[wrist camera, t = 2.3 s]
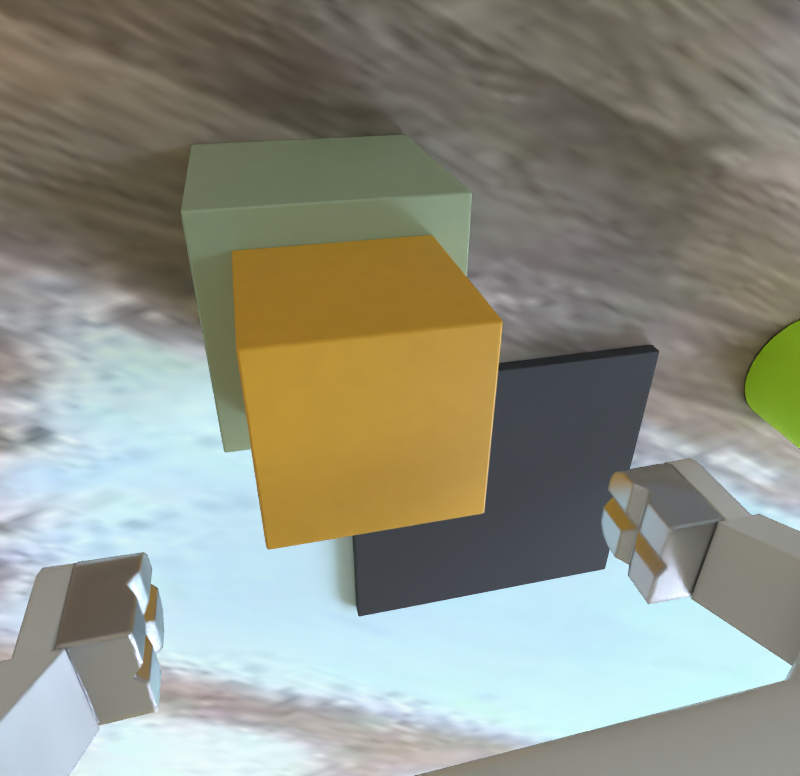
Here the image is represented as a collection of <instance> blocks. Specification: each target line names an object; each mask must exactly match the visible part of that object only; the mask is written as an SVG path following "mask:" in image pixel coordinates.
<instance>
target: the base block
mask: <svg viewBox="0 0 800 776" xmlns="http://www.w3.org/2000/svg"><path fill="white" fill-rule="evenodd" d="M471 201H472V192H471V191H470V190H469V189H467V188H466V187H465V186H464V185H463V184H462V183H461V182H459V181H458V180H457V179H456V178H455V177H454V176H452V175H451V174H450V173H449V172H448V171H447V170H446V169H444V168H443V167H442V166H441V165H440V164H439V163H437V162H436V161H435V160H434V159H433V158H432V157H431V156H429V155H428V154H427V153H426V152H425V151H424V150H422V149H421V148H420V147H419V146H418V145H417V144H416V143H414V142H413V141H412V140H411V139H410V138H409V137H407V136H406V135H385V136H364V137H343V138H322V139H301V140H280V141H259V142H238V143H216V144H195V145H191V149H190V156H189V162H188V169H187V175H186V181H185V188H184V194H183V201H182V207H181V219H182V224H183V230H184V235H185V240H186V246H187V251H188V257H189V262H190V268H191V273H192V279H193V284H194V290H195V295H196V301H197V306H198V311H199V317H200V322H201V328H202V333H203V339H204V344H205V350H206V355H207V361H208V366H209V372H210V377H211V382H212V388H213V393H214V399H215V404H216V410H217V415H218V421H219V426H220V432H221V437H222V443H223V448H224V451H225V452H234V451H241V450H248V449H251V445H250V438H249V432H248V425H247V419H246V413H245V406H244V400H243V393H242V387H241V380H240V374H239V367H238V361H237V354H236V339H235V318H234V297H233V276H232V254H231V253H232V251H234V250H247V249H260V248H272V247H285V246H297V245H310V244H323V243H335V242H348V241H361V240H373V239H386V238H399V237H411V236H424V235H433V236H434V237H435V239H436V240H437V241H438V242H439V244H440V245H441V246H442V247H443V248H444V250H445V251H446V252H447V253H448V255H449V256H450V257H451V258H452V259H453V261H454V262H455V263H456V264H457V266H458V267H459V268H460V269H461V271H462V272H463V273H464V274H465V275H466V277H467V265H468V249H469V233H470V217H471Z"/></svg>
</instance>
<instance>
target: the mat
mask: <svg viewBox="0 0 800 776" xmlns="http://www.w3.org/2000/svg"><path fill="white" fill-rule="evenodd" d="M658 354H659V350H657V349H656V348H655V347H654V346H653V345H649V346H640V347H632V348H624V349H616V350H608V351H599V352H591V353H583V354H575V355H567V356H558V357H550V358H542V359H534V360H526V361H517V362H509V363H501V364H499V367H498V377H497V387H496V397H495V408H494V418H493V428H492V438H491V448H490V459H489V469H488V479H487V489H486V499H485V510H484V513H482V514H477V515H471V516H465V517H459V518H453V519H447V520H441V521H435V522H429V523H423V524H418V525H412V526H406V527H400V528H394V529H388V530H382V531H376V532H370V533H364V534H358V535H353V546H354V565H355V585H356V604H357V612H358V616H364V615H369V614H374V613H380V612H385V611H390V610H395V609H400V608H405V607H410V606H416V605H421V604H426V603H431V602H436V601H441V600H447V599H452V598H457V597H462V596H467V595H472V594H478V593H483V592H488V591H493V590H498V589H503V588H508V587H514V586H519V585H524V584H529V583H534V582H539V581H545V580H550V579H555V578H560V577H565V576H570V575H576V574H581V573H586V572H591V571H596V570H601V569H605V566H606V562H607V558H608V554H609V550H610V549H609V547H608V545H607V543H606V541H605V538H604V536H603V530H602V524H601V519H602V513H603V507H604V506H605V505H606V504H607V503H608V502H609V501H610V500H611V498H612V497H613V496H612V494H611V493H610V491H609V490H608V486H609V481H610V478H611V477H612V475H613V474H614V473H615V472H617V471H623V470H628V469H630V466H631V462H632V458H633V454H634V450H635V446H636V442H637V438H638V434H639V430H640V426H641V422H642V418H643V414H644V410H645V406H646V402H647V398H648V394H649V390H650V386H651V382H652V378H653V374H654V370H655V366H656V362H657V358H658Z"/></svg>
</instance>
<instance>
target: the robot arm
mask: <svg viewBox="0 0 800 776" xmlns="http://www.w3.org/2000/svg"><path fill="white" fill-rule="evenodd" d="M608 490H609V491H610V493H611V494H612V496H613V497H612V498H611V500H610V501H609V502H608V503H607V504H606V505H605V506H604V507H603V513H602V519H601V524H602V530H603V536H604V538H605V541H606V543H607V545H608V547H609V549H610V550H611V552H612V553H613V555H614V556H615V557H616V558H618V559H620V560H622V561H623V562H625V563H627V564H629V571H628V576H629V578H630V579H631V580H632V582H633V583H634V585H635V586H636V588H637V589H638V590H639V592H640V593H641V595H642V596H643V597H644V599H645V600H646V602H647V603H648V604H652V603H657V602H663V601H668V600H673V599H679V598H684V597H689V596H692V597H691V599H693V600H694V601H696V602H697V603H699V604H700V605H702V606H703V607H705V608H706V609H708V610H709V611H711V612H712V613H714V614H715V615H717V616H718V617H720V618H721V619H723V620H724V621H726V622H727V623H729V624H730V625H732V626H733V627H735V628H736V629H738V630H739V631H741V632H742V633H744V634H745V635H747V636H748V637H750V638H751V639H753V640H754V641H756V642H757V643H759V644H760V645H762V646H763V647H765V648H766V649H768V650H769V651H771V652H772V653H774V654H775V655H777V656H778V657H780V658H781V659H783V660H784V661H786V662H787V663H789V664H790V665H792V668H791V670H790V672H789V673H788V675H787V677H786V679H785V680H784V681H781V682H777V683H773V684H769V685H765V686H761V687H757V688H753V689H749V690H746V691H742V692H738V693H734V694H730V695H726V696H722V697H718V698H714V699H711V700H707V701H703V702H699V703H695V704H691V705H687V706H683V707H679V708H676V709H672V710H668V711H664V712H660V713H656V714H652V715H648V716H644V717H641V718H637V719H633V720H629V721H625V722H621V723H617V724H613V725H610V726H606V727H602V728H598V729H594V730H590V731H586V732H582V733H578V734H575V735H571V736H567V737H563V738H559V739H555V740H551V741H547V742H543V743H540V744H536V745H532V746H528V747H524V748H520V749H516V750H512V751H509V752H505V753H501V754H497V755H493V756H489V757H485V758H481V759H477V760H474V761H470V762H466V763H462V764H458V765H454V766H450V767H446V768H442V769H439V770H435V771H431V772H427V773H423V774H419V775H415V776H800V531H798V530H795V529H793V528H791V527H788V526H786V525H784V524H781V523H779V522H777V521H774V520H772V519H770V518H767V517H765V516H763V515H760V514H756V515H751V514H750V513H749V512H748V511H747V510H746V509H745V508H744V507H743V506H742V505H741V504H740V503H739V502H738V501H737V500H736V499H735V498H734V497H733V496H732V495H731V494H730V493H729V492H728V491H727V490H726V489H724V488H723V487H722V486H721V485H720V484H719V483H718V482H717V481H716V480H715V479H714V478H713V477H712V476H711V475H710V474H709V473H708V472H707V471H706V470H705V469H704V468H703V467H702V466H701V465H700V464H699V463H698V462H697V461H695V460H692V459H690V458H688V459H683V460H677V461H672V462H666V463H664V464H656V465H651V466H645V467H639V468H634V469H628V470H623V471H617V472H615V473H614V474H613V475H612V477H611V478H610V481H609V486H608ZM151 575H152V567H151V564H150V561H149V558H148V555H147V554H146V553H144V552H142V553H136V554H129V555H122V556H115V557H108V558H101V559H95V560H88V561H81V562H77V563H73V564H66V565H59V566H52V567H44V568H42V569H41V571H40V572H39V573H38V575H37V576H36V578H35V581H34V585H33V588H32V591H31V595H30V598H29V602H28V605H27V608H26V612H25V615H24V618H23V622H22V625H21V628H20V632H19V635H18V638H17V642H16V645H15V649H14V652H13V655H12V659H9V660H4V661H0V776H69V775H70V773H71V772H72V770H73V769H74V767H75V766H76V764H77V763H78V761H79V760H80V758H81V756H82V755H83V753H84V752H85V750H86V749H87V747H88V746H89V744H90V743H91V741H92V740H93V738H94V737H95V735H96V733H97V732H98V730H99V727H98V726H99V725H103V724H107V723H111V722H115V721H119V720H123V719H127V718H132V717H136V716H140V715H144V714H148V713H152V712H156V711H158V706H159V694H160V681H161V670H160V666H159V663H158V660H157V657H156V655H157V654H158V653H159V652H160V650H161V649H162V648H163V639H164V622H163V609H162V603H161V598H160V594H159V591H158V588H157V587H155V586H153V585H152V584H151Z"/></svg>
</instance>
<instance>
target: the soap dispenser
mask: <svg viewBox="0 0 800 776" xmlns="http://www.w3.org/2000/svg"><path fill="white" fill-rule="evenodd" d="M745 397H746V400H747V403H748V405H749V406H750V408H751V409H752V410H753V411H754V412H755V413H757V414H758V415H759V416H760V417H762V418H763V419H764V420H765V421H766V422H768V423H769V424H770V425H771V426H773V427H774V428H775V429H776V430H777V431H779V432H780V433H781V434H782V435H783V436H785V437H786V438H787V439H788V440H790V441H791V442H792V443H793V444H794V445H796V446H797V447H798V448H799V449H800V320H799V321H797V322H795V323H793V324H792V325H790V326H788V327H787V328H785V329H784V330H782V331H781V332H780V333H778V334H777V335H776V336H775V337H774V338H773V339H771V340H770V341H769V342H768V343H767V345H766V346H765V347H764V348H763V349H762V350H761V352H760V353H759V354H758V356H757V357H756V359H755V360H754V362H753V364H752V366H751V368H750V370H749V372H748V375H747V379H746V383H745Z"/></svg>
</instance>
